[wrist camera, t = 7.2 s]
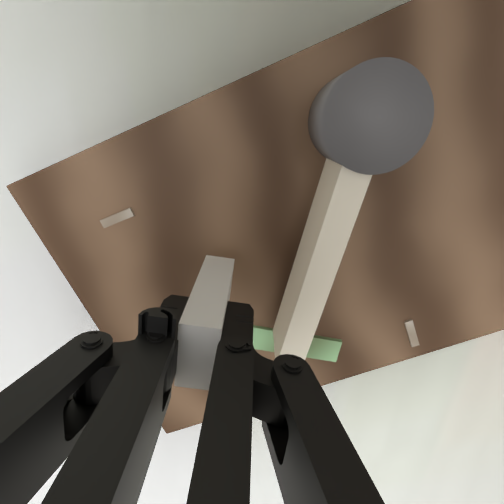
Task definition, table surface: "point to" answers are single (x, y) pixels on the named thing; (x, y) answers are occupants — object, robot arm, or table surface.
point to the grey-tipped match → (349, 177)
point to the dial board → (300, 202)
